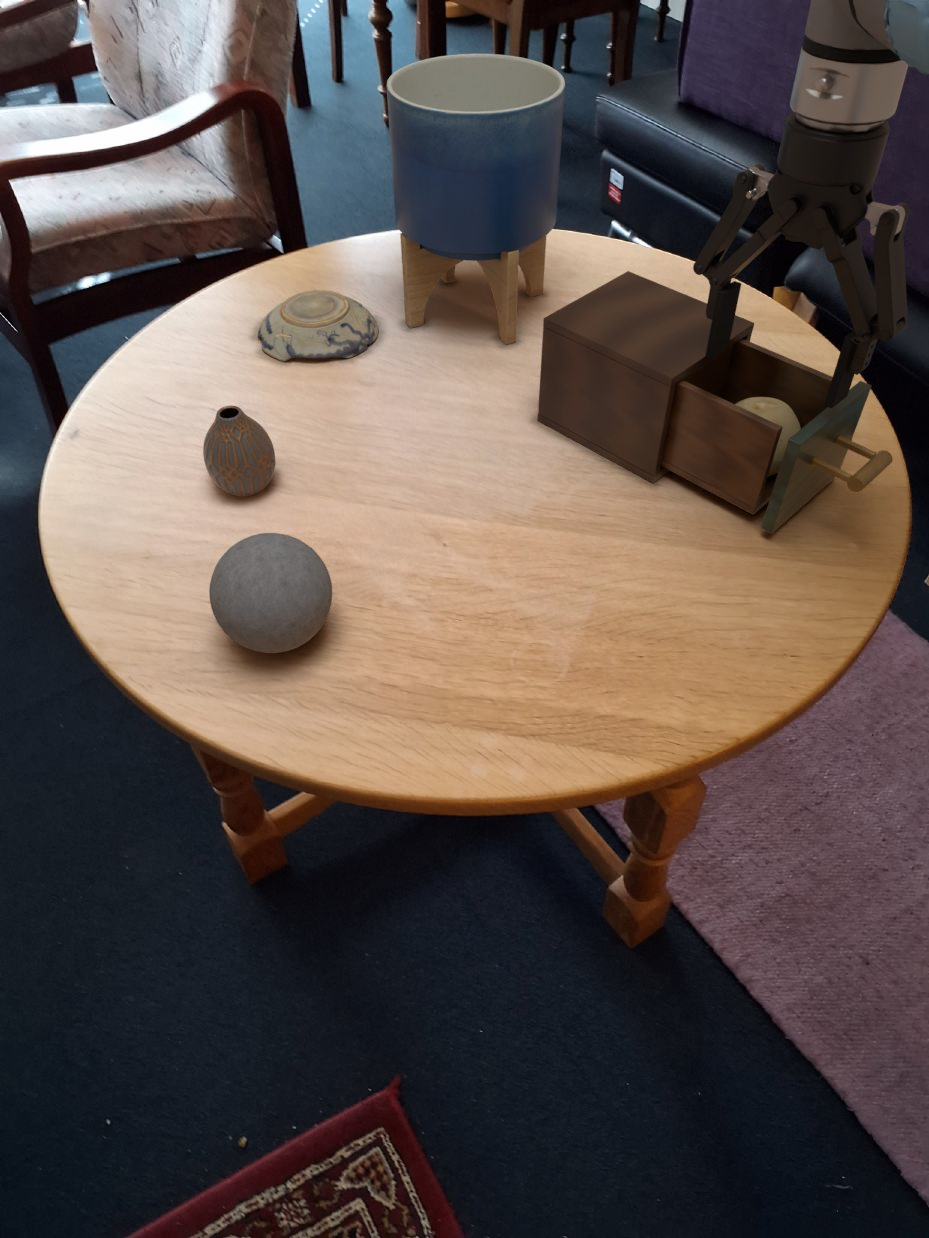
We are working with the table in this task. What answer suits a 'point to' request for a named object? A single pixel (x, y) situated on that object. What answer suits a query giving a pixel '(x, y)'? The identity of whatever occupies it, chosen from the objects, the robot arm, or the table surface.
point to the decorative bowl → (317, 327)
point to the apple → (776, 414)
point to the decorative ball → (270, 592)
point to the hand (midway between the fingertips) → (773, 376)
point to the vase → (238, 453)
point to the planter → (475, 173)
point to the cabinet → (623, 367)
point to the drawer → (764, 433)
